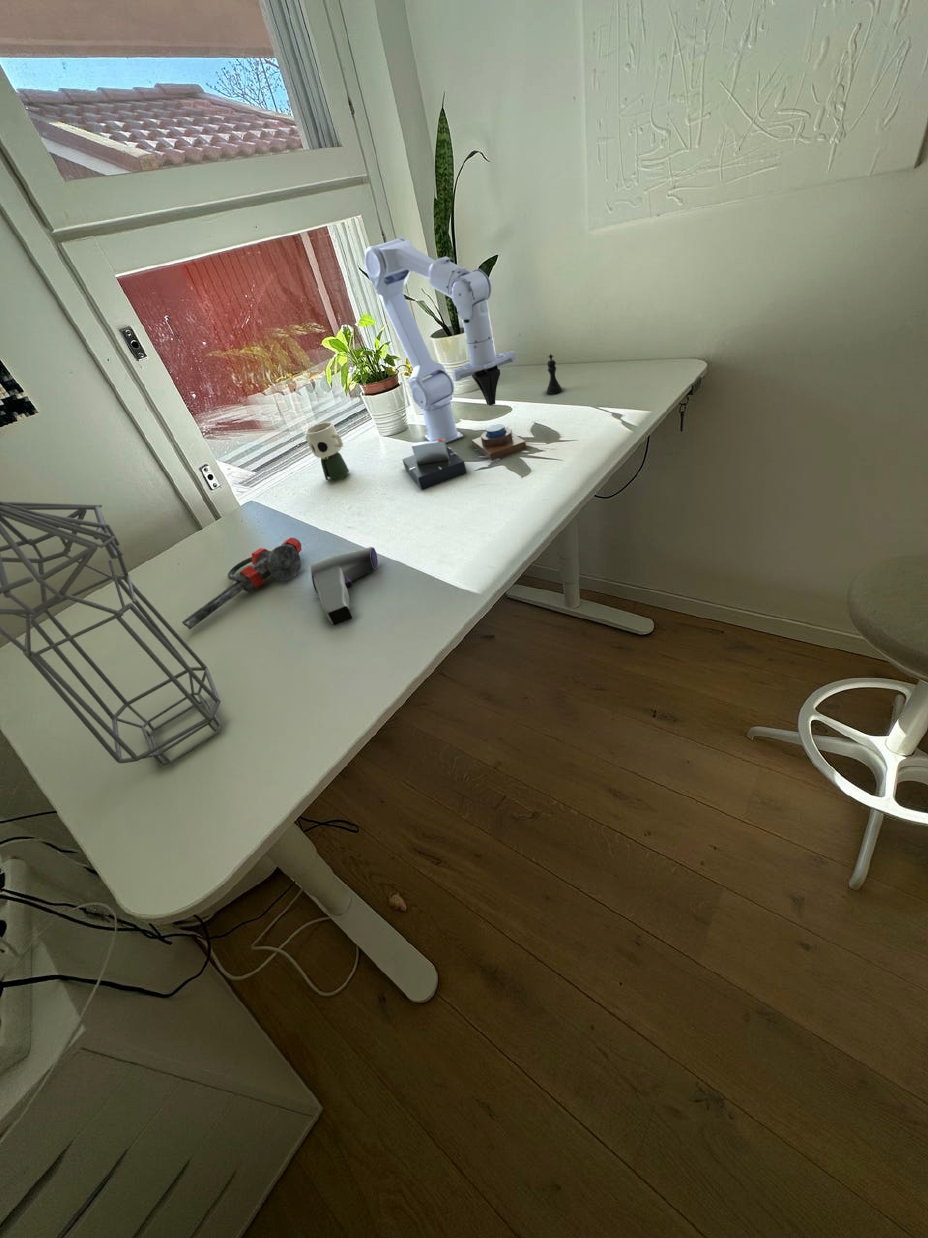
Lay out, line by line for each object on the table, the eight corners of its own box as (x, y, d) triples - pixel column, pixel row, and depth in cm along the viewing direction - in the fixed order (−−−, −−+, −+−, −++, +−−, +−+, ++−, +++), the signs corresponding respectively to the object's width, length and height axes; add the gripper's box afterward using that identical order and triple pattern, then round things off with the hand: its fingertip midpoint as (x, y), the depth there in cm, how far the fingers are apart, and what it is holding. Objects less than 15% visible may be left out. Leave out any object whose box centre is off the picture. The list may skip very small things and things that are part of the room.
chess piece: (553, 388, 150) (550, 351, 144) (565, 389, 147) (562, 351, 141) (543, 393, 149) (539, 356, 142) (554, 395, 146) (550, 357, 139)
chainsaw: (284, 551, 111) (321, 557, 101) (178, 628, 98) (208, 644, 88) (268, 526, 108) (304, 529, 97) (155, 602, 95) (183, 615, 85)
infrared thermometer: (329, 632, 84) (315, 582, 94) (399, 604, 85) (378, 558, 96) (318, 611, 80) (305, 562, 91) (391, 583, 82) (370, 538, 93)
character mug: (313, 483, 133) (292, 433, 125) (330, 470, 138) (311, 422, 130) (346, 484, 128) (326, 432, 120) (362, 471, 133) (344, 420, 125)
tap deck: (404, 471, 127) (400, 458, 125) (448, 455, 128) (445, 442, 126) (420, 490, 116) (416, 477, 114) (468, 473, 118) (465, 460, 116)
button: (484, 435, 125) (483, 428, 124) (501, 429, 125) (500, 422, 124) (491, 440, 121) (490, 432, 120) (508, 434, 122) (507, 426, 121)
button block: (472, 446, 129) (470, 432, 127) (505, 434, 131) (503, 420, 128) (491, 460, 120) (488, 446, 118) (526, 448, 121) (524, 433, 119)
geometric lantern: (136, 805, 63) (-128, 572, 42) (122, 731, 74) (-92, 517, 53) (256, 731, 69) (77, 490, 47) (226, 672, 80) (71, 456, 58)
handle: (417, 464, 120) (411, 445, 117) (418, 461, 121) (413, 442, 118) (448, 460, 118) (443, 440, 115) (449, 457, 119) (444, 437, 116)
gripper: (454, 352, 106) (468, 418, 115) (518, 331, 109) (527, 397, 117) (443, 347, 112) (457, 410, 120) (504, 327, 114) (514, 391, 122)
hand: (491, 403), depth 119 cm, fingers closed
